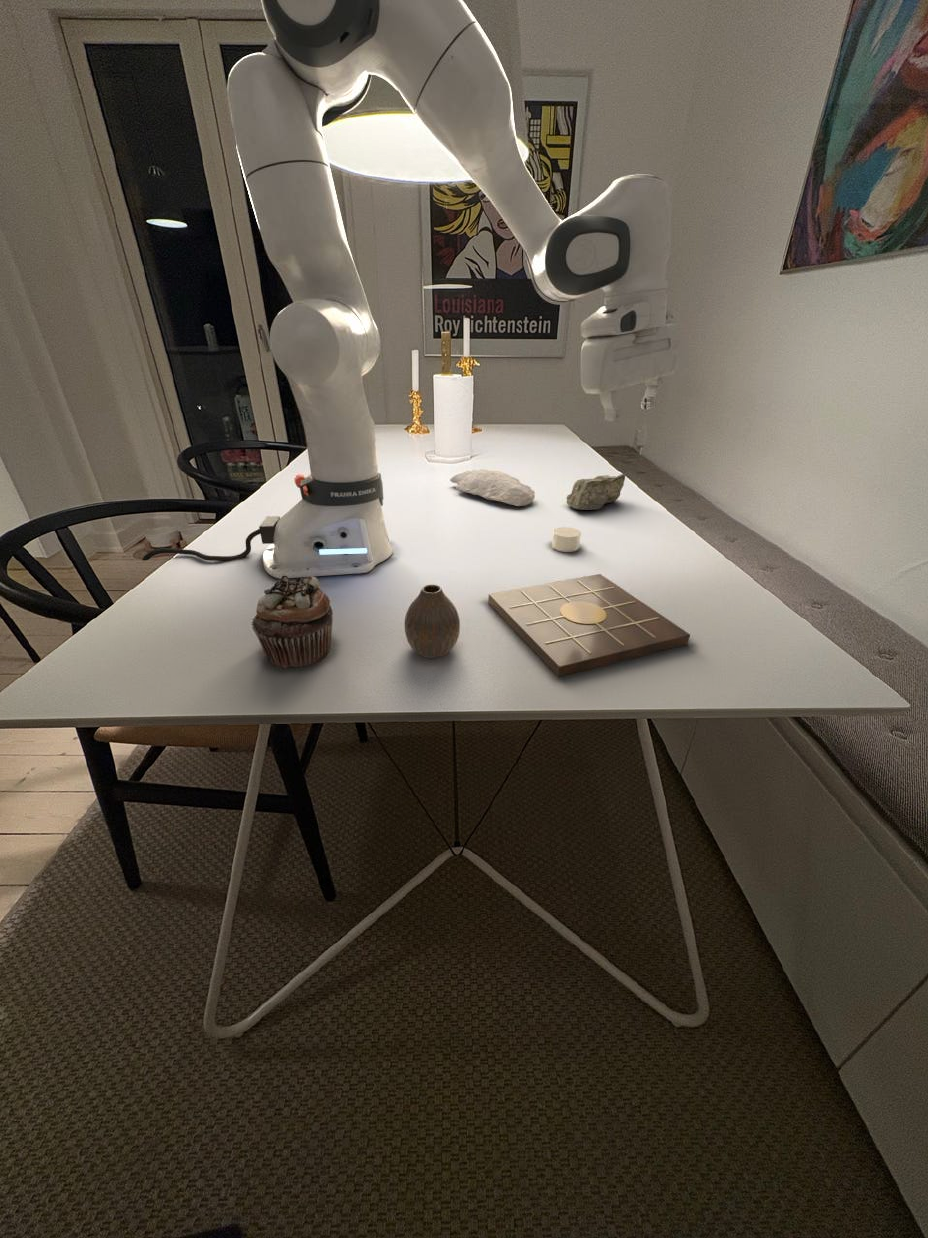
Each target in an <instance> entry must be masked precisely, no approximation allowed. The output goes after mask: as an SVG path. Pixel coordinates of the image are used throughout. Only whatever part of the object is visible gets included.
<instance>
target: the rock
mask: <svg viewBox="0 0 928 1238" xmlns="http://www.w3.org/2000/svg"><path fill="white" fill-rule="evenodd" d="M625 480H626V474H625V473H621V474H619V475H617V476H615V475H614V476H611V475H607V474H605V475H598V476H596V477H594V478H581V479H578V480H576V481H575V482H574V484H573V485H572V489H571V493H570V494H567V495H566V504H567V506H568V507H570V508H574V509H575V510H579V511H580V510H581V511H582V510H583V511H591V510H592V511H593V510H600V509H601V508H603V507H604V505H605V504H611V503H613V502H615V501H617V500H618V499H619V498H620V496H621V491H622V489H623V487H624V485H625Z"/></svg>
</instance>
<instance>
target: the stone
mask: <svg viewBox="0 0 928 1238" xmlns="http://www.w3.org/2000/svg"><path fill="white" fill-rule="evenodd" d="M449 481H450V482H451V483H453V484H457V485H456V486H455V490H457V491H460V492H463V493H467V494H471V495H473V496H479V497H482V498H483V499H485V500H489V501H496V502H500V503H504V504H508V505H510V506H511V505H512V506H516V507H524V506H528V505H529V504H531V503H532V502H533V500H534V499H535V496H536V495H535V494H536V493H535V490H533V489H532V487H531V486H529V485H526V484H524V483H522V482H521V481H520V480H519V479H518V478H517V477H514V476H511V475H509V474H507V473H505V472H503V471H500V470H492V469H491V470H489V469H474V470H473V469H472V470H467V471H463V472H462V473H458V474H455V475H453V476H452V477H451V478H450V479H449Z"/></svg>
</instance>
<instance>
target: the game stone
mask: <svg viewBox="0 0 928 1238" xmlns="http://www.w3.org/2000/svg"><path fill="white" fill-rule="evenodd" d="M581 534H582V533H581V531H580V530H579V529H576V528H573V527H564V526H563V527H556V528H555V529H553V533H552V541H551V542H552V543H551V547H552V549H554V550H556V551H558V552H561V553H562V552H563V553H573V552H577V551H579V549H580V542H581Z"/></svg>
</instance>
